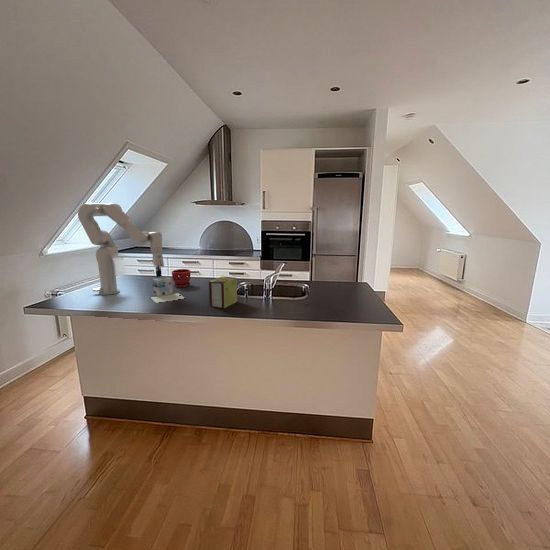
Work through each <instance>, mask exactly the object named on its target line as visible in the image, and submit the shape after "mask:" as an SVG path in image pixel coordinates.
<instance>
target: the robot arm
mask: <svg viewBox="0 0 550 550" xmlns="http://www.w3.org/2000/svg"><path fill="white" fill-rule="evenodd" d="M94 217H108V218H110V219H111V220H112V221H113V222H114V223H115V224H116V225H118V226H119V227H120V228H121V229H122V230H123V232H124V233H125V234H126V235H127V236H128V237H129V238H131V239H132V240H133V241H134V242H136V243H137V244H141V245H143V244H146V243H149V246H150V247H149V248H150V253H151V254H152V265H153V267H154V268H155V275H156V276H155V277H157V278H162V268H163V267H165V265H164V264H165V263H164V258H163V257H164V256H163V239H162V232H160V231H141V230H140V229H139V228H138V227H137V226H135V224H134V223H133V220H132V218H131V217H130V216H129V215H128V214H126V213H125V212H124V211H123V208H122V207H121V205H120V204H118V203H114V202H113V203H112V202H108V203H98V202H85V203H83V204H82V205H81V206H80V207H79V208H78V211H77V218H78V220H79V222H80V225H81V226H82V228H83V230H84V231H85V234H86V235H87V237H88V239H89V241H90V242H91V244H93V245H94V246H99V248H97V250H96V252H95V258H96V262H97V265H98V266H97V267H98V273H99V275H98V276H99V282H100V286H99V287H95V288H92V292H95V293H96V292H98V295H100V296H101V295H102V296H107V295H109V296H110V295H115V294H118V293H120V292H121V290H120V289H119V288H118V284H117V276H116V274H117V273H116V265H115V262H114V259H115V258H116V257H118V255H119V250H118V247H117V245H116V243H115V241H114V238H113V237H112V236H111V234H110V233H109V232H108V231H106V230H103V229H101V227H100V225H99V223H98V221H97V220H95V219H96V218H94Z"/></svg>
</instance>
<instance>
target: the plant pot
mask: <svg viewBox="0 0 550 550" xmlns="http://www.w3.org/2000/svg"><path fill="white" fill-rule="evenodd" d="M171 276H172V277H171V278H172V282H173V283H174V284H173V285H174V286H175V287H177V288H186V286H187V287H189V286H190V285H191V282H190V280H191V269H189V268H180V269H174V270H172V271H171Z"/></svg>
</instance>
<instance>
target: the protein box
mask: <svg viewBox="0 0 550 550" xmlns="http://www.w3.org/2000/svg"><path fill="white" fill-rule="evenodd" d="M237 279H238V278H237V277H231V276H226V275H225V276H224V275H222V276H220V277H216V278H214V279H212V280H209V281H208V292H209V293H208V295H209V296H208V297H209V307H212V308H220V309H226V308H228V307H230V306H232V305H234V304H235V303H237V302H238V288H237V287H238V281H237Z"/></svg>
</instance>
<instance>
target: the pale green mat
mask: <svg viewBox="0 0 550 550" xmlns="http://www.w3.org/2000/svg"><path fill="white" fill-rule="evenodd" d="M179 295H181V294H180V293H179V292H177V293H173V294H168V295H163V296H151V297H150V299H151V300H152V301H153V302H154V303H155V304H160V303H159V302H162V303H167V302H166V301H168V302H173V300H175V301H179V300H178V299H181V300H185V299H184V298H185V297H184V296H183V295H181V296H179Z"/></svg>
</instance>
